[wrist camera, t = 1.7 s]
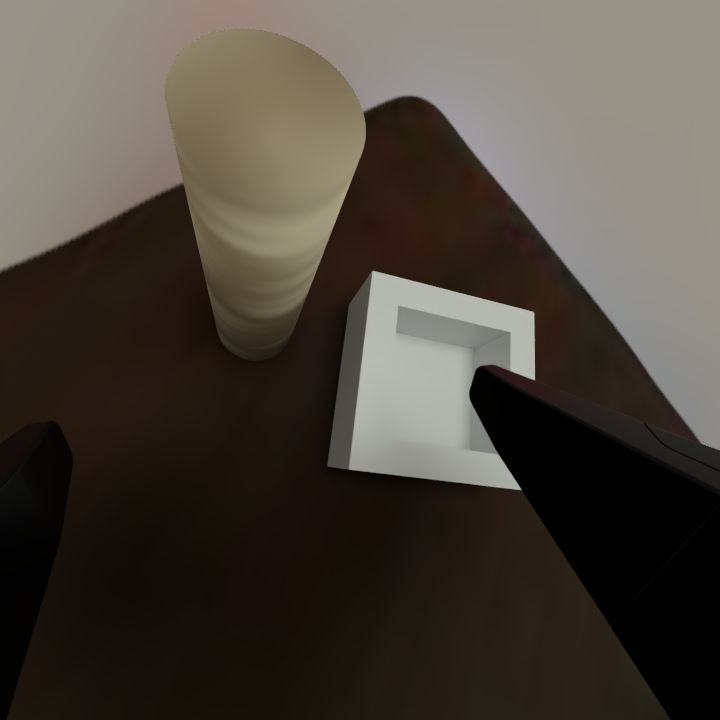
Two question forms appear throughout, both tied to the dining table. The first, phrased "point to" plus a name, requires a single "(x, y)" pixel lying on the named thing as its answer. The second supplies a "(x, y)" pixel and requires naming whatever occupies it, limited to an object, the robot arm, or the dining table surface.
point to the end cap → (423, 381)
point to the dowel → (261, 174)
